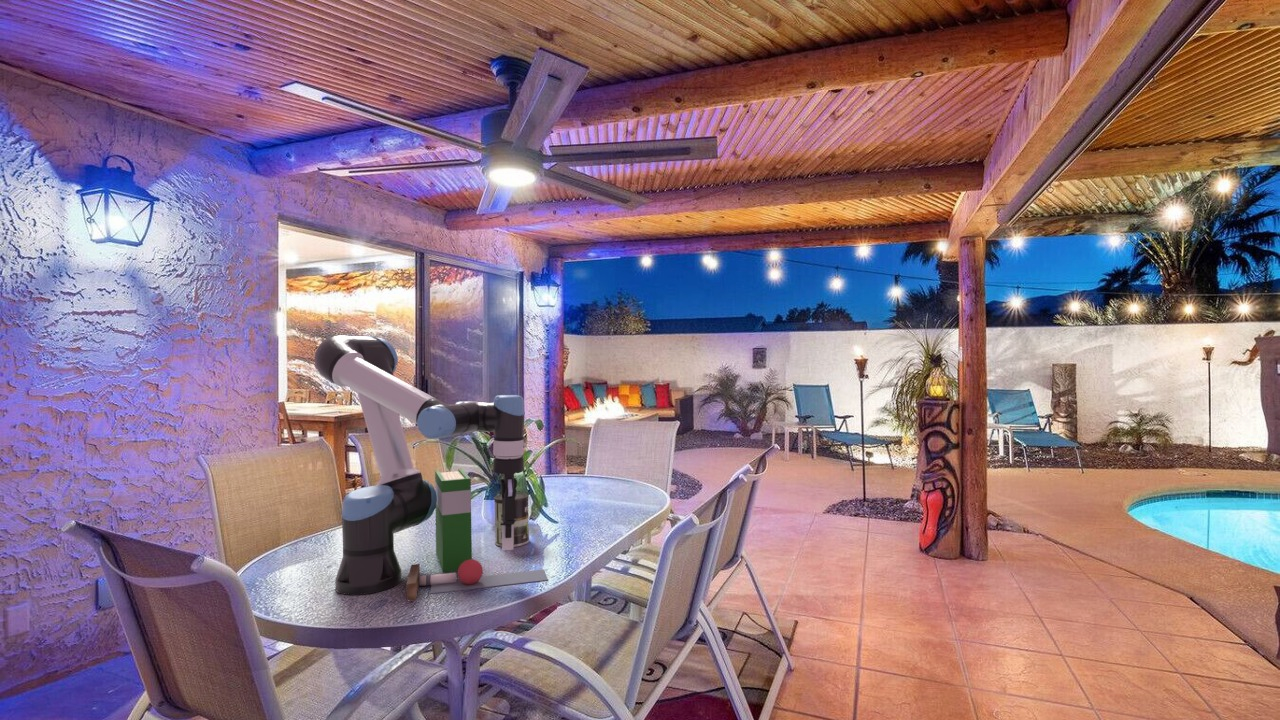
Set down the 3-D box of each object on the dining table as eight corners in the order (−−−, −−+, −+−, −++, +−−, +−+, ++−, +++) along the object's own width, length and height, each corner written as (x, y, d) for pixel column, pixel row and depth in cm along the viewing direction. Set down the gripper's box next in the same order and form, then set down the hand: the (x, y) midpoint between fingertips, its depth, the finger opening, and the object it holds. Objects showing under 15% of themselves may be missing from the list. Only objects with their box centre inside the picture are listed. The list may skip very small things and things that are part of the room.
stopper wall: (406, 601, 141) (406, 584, 141) (411, 580, 154) (411, 564, 154) (416, 600, 141) (415, 583, 141) (419, 579, 155) (419, 563, 155)
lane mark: (430, 594, 145) (430, 593, 145) (431, 582, 153) (431, 581, 153) (548, 580, 153) (548, 579, 153) (543, 570, 161) (543, 569, 161)
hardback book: (436, 553, 176) (435, 470, 176) (462, 549, 179) (461, 468, 179) (443, 572, 160) (441, 481, 160) (471, 568, 163) (470, 478, 163)
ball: (472, 558, 149) (488, 575, 150) (471, 551, 154) (487, 568, 156) (452, 575, 147) (469, 593, 148) (452, 568, 153) (468, 585, 154)
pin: (455, 573, 151) (419, 576, 149) (455, 584, 151) (419, 587, 149) (456, 571, 154) (420, 574, 152) (456, 581, 154) (420, 584, 152)
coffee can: (528, 536, 192) (527, 491, 192) (530, 545, 182) (529, 498, 182) (494, 539, 190) (493, 493, 190) (494, 548, 180) (494, 501, 180)
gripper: (526, 460, 149) (525, 556, 149) (521, 451, 162) (520, 540, 162) (494, 461, 147) (493, 558, 147) (492, 452, 160) (491, 542, 160)
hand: (507, 549), depth 155 cm, fingers closed
